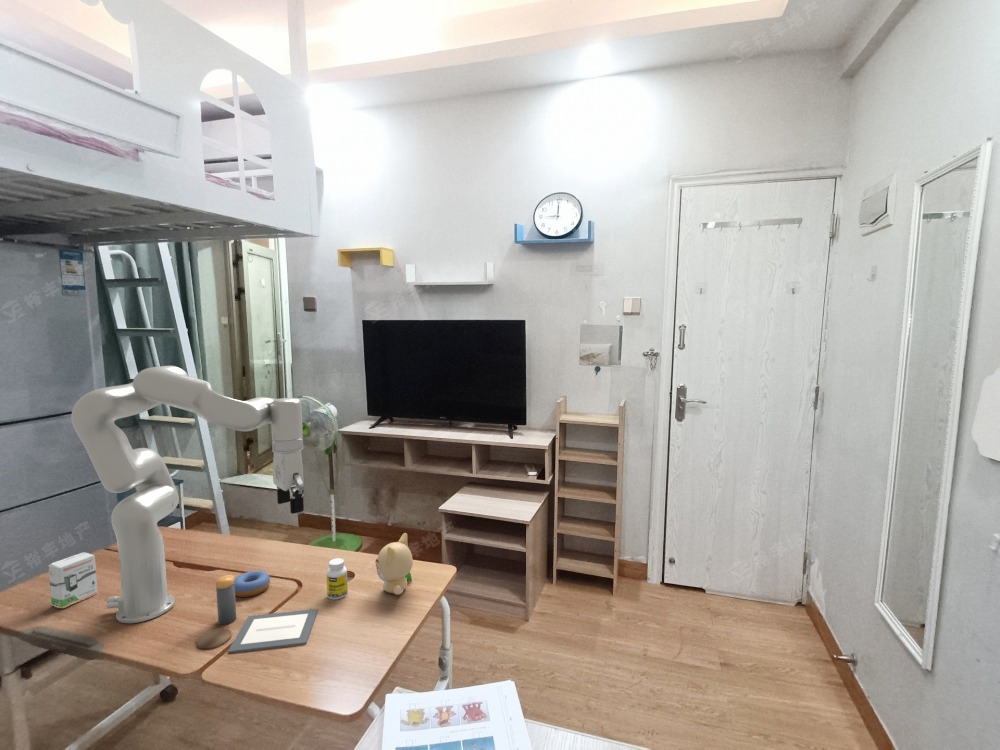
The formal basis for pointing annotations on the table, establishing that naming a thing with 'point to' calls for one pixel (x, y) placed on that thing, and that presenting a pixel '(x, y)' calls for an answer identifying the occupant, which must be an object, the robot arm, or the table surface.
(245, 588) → the doughnut
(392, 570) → the kitten
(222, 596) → the marker
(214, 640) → the coaster
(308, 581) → the table surface
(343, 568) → the supplement bottle
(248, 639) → the grey picture frame
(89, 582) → the ink box
